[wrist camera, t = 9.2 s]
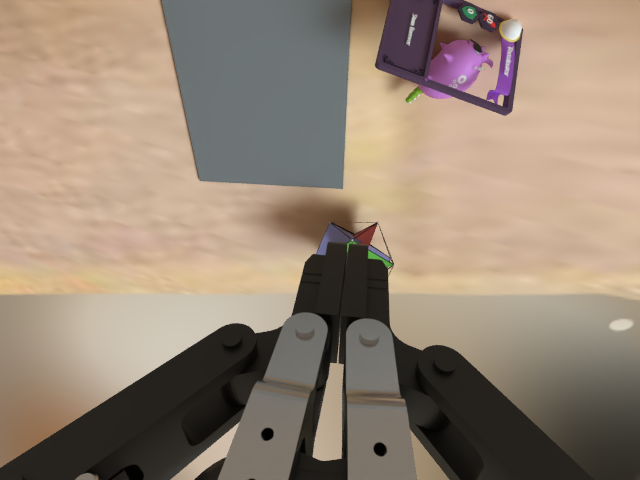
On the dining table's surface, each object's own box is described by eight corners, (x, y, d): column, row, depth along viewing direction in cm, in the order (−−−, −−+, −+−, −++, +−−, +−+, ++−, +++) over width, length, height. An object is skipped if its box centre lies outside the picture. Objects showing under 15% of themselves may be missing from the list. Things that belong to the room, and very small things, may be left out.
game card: (403, -38, 22) (532, 16, 23) (373, 26, 27) (481, 67, 28) (381, 55, 21) (520, 107, 22) (354, 104, 26) (468, 144, 27)
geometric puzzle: (346, 188, 32) (341, 242, 26) (407, 226, 34) (416, 286, 28) (305, 240, 36) (291, 298, 30) (361, 272, 38) (360, 334, 32)
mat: (351, -2, 24) (351, -2, 24) (342, 187, 32) (342, 188, 32) (161, -4, 25) (160, -4, 25) (200, 179, 34) (199, 180, 33)
